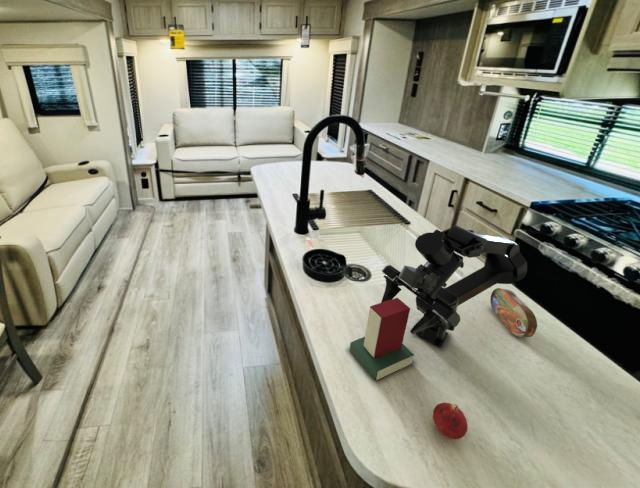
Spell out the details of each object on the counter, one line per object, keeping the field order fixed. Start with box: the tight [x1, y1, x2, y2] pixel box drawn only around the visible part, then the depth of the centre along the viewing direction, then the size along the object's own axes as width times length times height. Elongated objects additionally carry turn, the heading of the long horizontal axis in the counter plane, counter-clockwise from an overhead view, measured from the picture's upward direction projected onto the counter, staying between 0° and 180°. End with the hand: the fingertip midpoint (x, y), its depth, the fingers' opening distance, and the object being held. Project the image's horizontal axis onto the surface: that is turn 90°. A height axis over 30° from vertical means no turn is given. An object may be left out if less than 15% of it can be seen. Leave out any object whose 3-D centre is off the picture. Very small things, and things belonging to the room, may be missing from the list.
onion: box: [432, 402, 469, 440], centre depth 62 cm, size 6×6×8 cm
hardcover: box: [349, 336, 415, 381], centre depth 79 cm, size 12×9×3 cm
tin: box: [489, 287, 538, 338], centre depth 88 cm, size 15×3×8 cm, turn 171°
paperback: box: [364, 297, 411, 358], centre depth 77 cm, size 9×4×13 cm, turn 109°
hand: (395, 319), depth 77 cm, fingers open, 9 cm apart
